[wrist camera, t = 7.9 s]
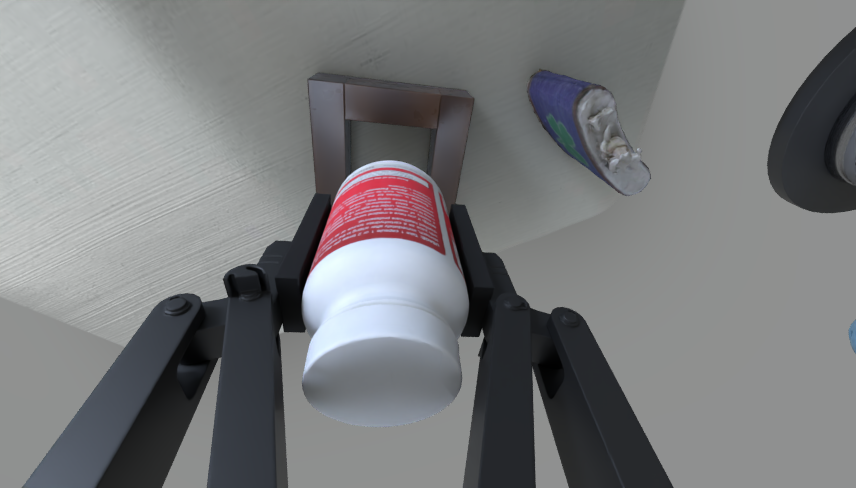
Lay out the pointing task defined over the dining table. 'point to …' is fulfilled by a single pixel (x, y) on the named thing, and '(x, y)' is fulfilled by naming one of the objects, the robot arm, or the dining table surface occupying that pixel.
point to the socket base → (386, 104)
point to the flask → (588, 129)
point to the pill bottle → (385, 301)
